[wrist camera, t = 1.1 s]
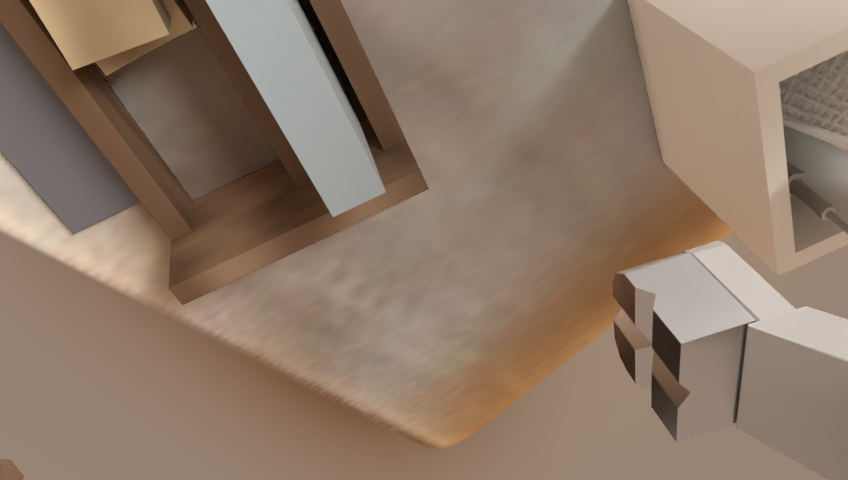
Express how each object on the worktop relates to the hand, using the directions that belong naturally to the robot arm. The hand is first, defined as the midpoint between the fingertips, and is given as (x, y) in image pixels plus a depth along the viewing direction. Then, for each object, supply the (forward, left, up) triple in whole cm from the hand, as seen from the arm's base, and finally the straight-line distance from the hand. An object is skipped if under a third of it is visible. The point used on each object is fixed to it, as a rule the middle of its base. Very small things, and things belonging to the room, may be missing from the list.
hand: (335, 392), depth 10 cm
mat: (+14, +3, -30) cm, 33 cm away
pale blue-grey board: (+1, +3, -30) cm, 30 cm away
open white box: (-22, +17, -30) cm, 41 cm away
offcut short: (+6, -1, -27) cm, 28 cm away
